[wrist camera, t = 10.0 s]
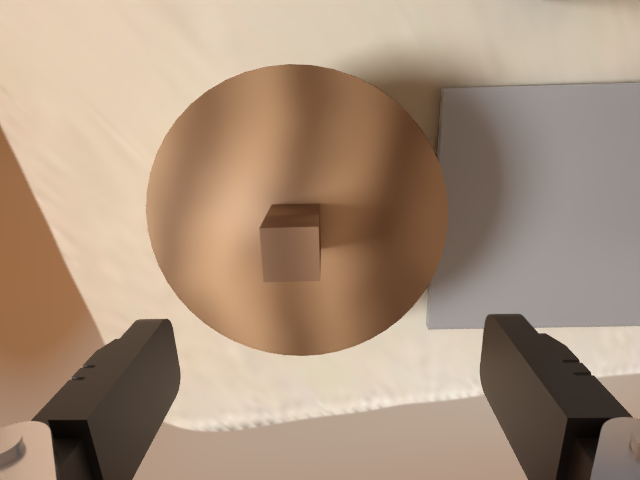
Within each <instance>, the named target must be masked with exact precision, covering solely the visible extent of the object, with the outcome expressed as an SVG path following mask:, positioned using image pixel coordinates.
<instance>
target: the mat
mask: <svg viewBox="0 0 640 480" xmlns="http://www.w3.org/2000/svg"><path fill="white" fill-rule="evenodd" d="M437 159H438V162H439V164H440V167H441V170H442V174H443V177H444V181H445V185H446V192H447V200H448V227H447V234H446V241H445V245H444V249H443V252H442V256H441V259H440V262H439V264H438V267H437V269H436V271H435V274H434V276H433V278H432V280H431V281H430V283H429V290H428V306H427V322H426V325H427V327H428V329H484V324H485V319H486V317H487V315H489V314H521V315H523V316H524V317H525V318H526V320H527V321H528V322H529V323H530V324H531V325H532V327H533V328H545V327H605V326H640V82H636V83H602V84H567V85H533V86H498V87H464V88H441V100H440V116H439V132H438V148H437Z"/></svg>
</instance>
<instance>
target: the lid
mask: <svg viewBox="0 0 640 480" xmlns="http://www.w3.org/2000/svg"><path fill="white" fill-rule="evenodd" d="M146 214H147V224H148V232H149V236H150V240H151V245H152V249H153V251H154V254H155V257H156V259H157V262H158V265H159V267H160V269H161V271H162V272H163V274H164V276H165V278H166V280H167V282H168V283H169V285H170V286H171V288H172V289H173V291H174V292H175V293H176V295H177V296H178V298H179V299H180V300H181V301H182V302H183V303H184V304H185V305H186V306H187V308H188V309H189V310H190V311H191V312H192V313H194V314H195V315H196V316H197V317H198V318H199V319H200V320H201V321H203V322H204V323H205V324H207V325H208V326H210V327H211V328H212V329H214V330H215V331H217V332H218V333H220V334H222V335H224V336H226V337H227V338H229V339H231V340H233V341H235V342H238V343H240V344H243V345H245V346H248V347H250V348H254V349H257V350H261V351H265V352H269V353H275V354H282V355H297V356H307V355H320V354H326V353H331V352H336V351H340V350H343V349H347V348H350V347H353V346H356V345H358V344H360V343H363V342H365V341H367V340H369V339H371V338H373V337H375V336H376V335H378V334H380V333H382V332H383V331H385V330H386V329H388V328H389V327H390V326H392V325H393V324H394V323H396V322H397V321H398V320H399V319H401V318H402V317H403V316H404V315H405V314H406V313H407V312H408V311H409V310H410V309H411V308H412V307H413V305H414V304H415V303H416V302H417V300H418V299H419V298H420V297H421V295H422V294H423V293H424V291H425V290H426V288H427V286H428V285H429V283H430V281H431V280H432V278H433V276H434V274H435V271H436V269H437V267H438V264H439V262H440V259H441V256H442V252H443V249H444V245H445V241H446V234H447V227H448V200H447V192H446V185H445V181H444V177H443V174H442V170H441V167H440V164H439V162H438V159H437V157H436V155H435V153H434V150H433V148H432V146H431V144H430V143H429V141H428V139H427V138H426V136H425V135H424V133H423V131H422V130H421V128H420V127H419V126H418V125H417V123H416V122H415V121H414V120H413V119H412V117H411V116H410V115H409V114H408V113H407V112H406V111H405V110H404V109H403V108H402V107H401V106H400V105H399V104H397V103H396V102H395V101H394V100H393V99H392V98H391V97H389V96H388V95H386V94H385V93H383V92H382V91H380V90H379V89H378V88H376V87H375V86H373V85H371V84H369V83H367V82H365V81H363V80H361V79H359V78H357V77H355V76H352V75H349V74H346V73H343V72H340V71H337V70H334V69H329V68H324V67H318V66H313V65H293V64H287V65H278V66H268V67H263V68H259V69H256V70H252V71H248V72H244V73H242V74H240V75H237V76H235V77H232V78H230V79H227V80H225V81H223V82H222V83H220V84H218V85H217V86H215V87H213V88H212V89H210V90H208V91H207V92H205V93H204V94H203V95H202V96H201V97H199V98H198V99H197V100H196V101H194V102H193V103H192V104H191V105H190V106H189V107H188V108H187V109H186V110H185V111H184V112H183V113H182V114H181V116H180V117H179V118H178V119H177V120H176V121H175V123H174V124H173V126H172V127H171V129H170V130H169V132H168V133H167V135H166V136H165V138H164V140H163V142H162V144H161V146H160V148H159V150H158V152H157V154H156V157H155V160H154V163H153V166H152V169H151V172H150V178H149V183H148V189H147V204H146Z"/></svg>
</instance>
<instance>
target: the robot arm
mask: <svg viewBox="0 0 640 480" xmlns="http://www.w3.org/2000/svg"><path fill="white" fill-rule="evenodd" d="M480 379H481V384H482V388H483V391H484V394H485V396H486V398H487V400H488V402H489V404H490V406H491V407H492V410H493V412H494V414H495V415H496V417H497V419H498V421H499V423H500V425H501V427H502V429H503V431H504V433H505V435H506V437H507V439H508V441H509V443H510V445H511V447H512V449H513V451H514V453H515V455H516V457H517V459H518V461H519V463H520V465H521V466H522V469H523V470H524V472H525V474H526V476H527V478H528V480H640V419H638V418H633V417H632V416H631V415H630V414H629V413H628V412H627V411H626V409H625V408H624V407H623V406H622V405H621V404H620V403H619V402H618V401H617V400H616V399H615V398H614V397H613V396H612V394H611V393H610V392H609V391H608V390H607V389H606V388H605V387H604V386H603V385H602V384H601V383H600V382H599V381H598V379H597V378H596V377H595V376H591V372H590V371H589V370H588V369H587V368H586V367H585V366H584V365H583V363H580V362H579V359H578V358H577V357H576V356H575V355H574V354H573V353H572V352H571V351H570V350H569V349H568V347H567V346H566V345H564V344H562V343H561V342H559V341H557V340H556V339H554V338H552V337H551V336H549V335H547V334H539V333H538V332H537V331H536V330H535V329H534V328H533V327H532V325H531V324H530V323H529V322H528V321H527V320H526V318H525V317H524V316H523V315H521V314H489V315H487V317H486V319H485V324H484V333H483V343H482V353H481V362H480ZM179 385H180V367H179V361H178V355H177V349H176V344H175V338H174V332H173V327H172V324H171V322H170V321H169V320H168V319H139V320H136V321H135V322H134V323H133V324H132V326H131V327H130V328H129V329H128V330H127V331H126V332H125V333H124V335H123V336H122V337H121V338H120V339H115V340H113V341H112V342H110V343H109V344H107V345H105V346H104V347H102V348H101V349H99V350H97V351H96V352H95V353H94V354H93V355H92V356H91V357H90V358H89V360H88V361H87V362H86V363H85V364H84V365H83V368H80V369H79V370H78V371H77V372H76V373H75V374H74V375H73V377H72V380H69V381H68V382H67V383H66V384H65V385H64V386H63V387H62V388H61V389H60V391H58V393H57V394H56V395H55V396H54V397H53V398H52V399H51V400H50V401H49V402H48V403H47V404H46V405H45V406H44V407H43V408H42V409H41V411H40V412H39V413H38V414H37V415H36V416H35V417H34V418H33V419H32V420H31V421H27V422H20V423H16V424H12V425H9V426H6V427H3V428H1V429H0V480H132V479H133V477H134V475H135V473H136V471H137V469H138V467H139V466H140V464H141V462H142V460H143V458H144V456H145V454H146V452H147V450H148V449H149V446H150V445H151V443H152V441H153V439H154V437H155V435H156V433H157V431H158V430H159V428H160V426H161V424H162V422H163V420H164V418H165V416H166V415H167V413H168V411H169V409H170V407H171V405H172V403H173V401H174V399H175V398H176V395H177V393H178V390H179Z"/></svg>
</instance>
